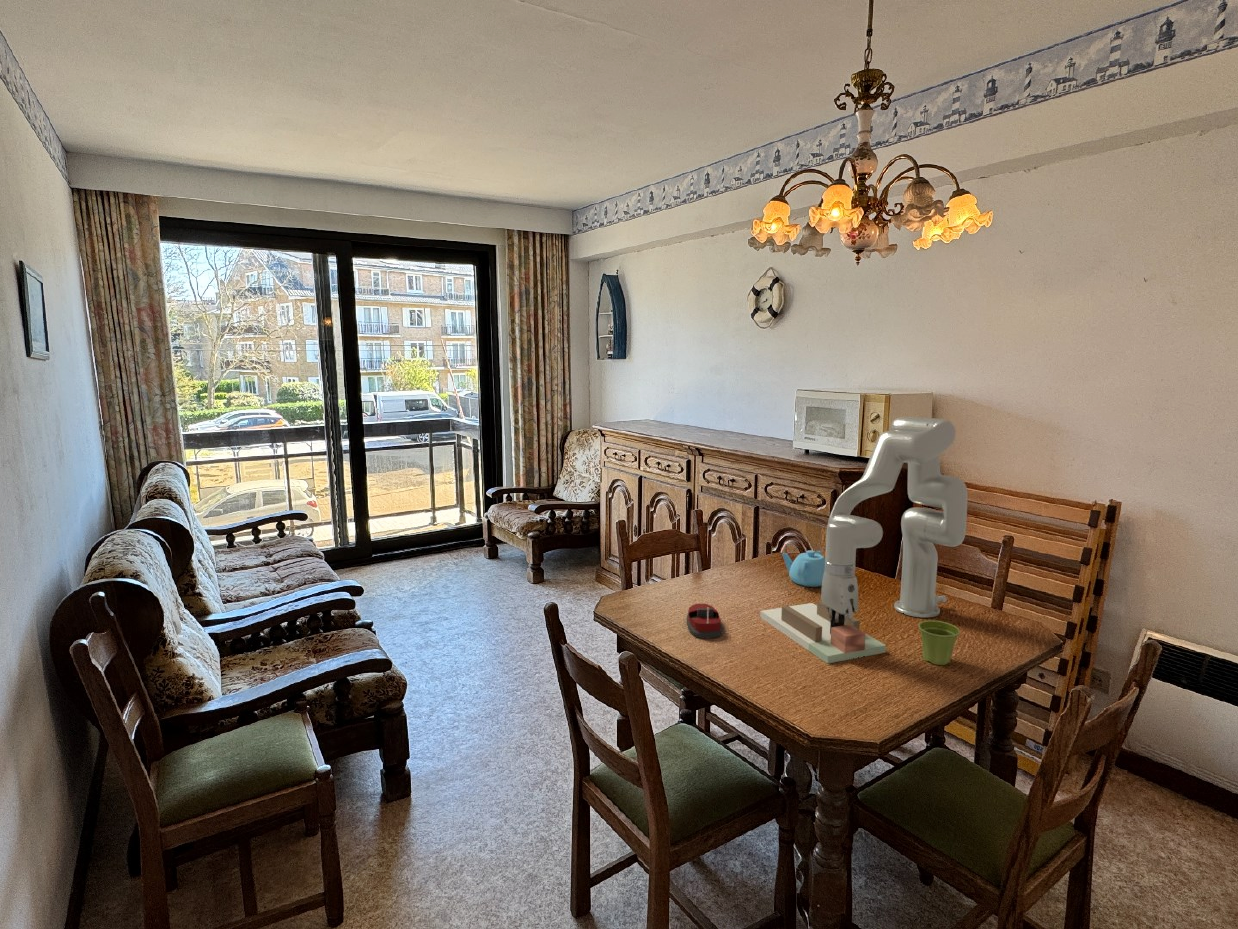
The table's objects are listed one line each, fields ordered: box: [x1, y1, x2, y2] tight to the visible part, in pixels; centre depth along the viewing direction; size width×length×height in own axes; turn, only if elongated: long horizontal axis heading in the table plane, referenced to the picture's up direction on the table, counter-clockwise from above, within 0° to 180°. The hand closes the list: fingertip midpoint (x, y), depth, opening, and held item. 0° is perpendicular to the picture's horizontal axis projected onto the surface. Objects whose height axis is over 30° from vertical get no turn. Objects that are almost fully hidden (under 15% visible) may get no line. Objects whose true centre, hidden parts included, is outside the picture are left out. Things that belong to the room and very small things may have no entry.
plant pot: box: [917, 620, 961, 666], centre depth 167 cm, size 9×9×9 cm
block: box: [830, 625, 867, 653], centre depth 170 cm, size 6×6×4 cm
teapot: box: [781, 550, 825, 588], centre depth 226 cm, size 15×15×11 cm
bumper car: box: [686, 603, 723, 639], centre depth 188 cm, size 10×20×10 cm, turn 1°
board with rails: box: [759, 600, 887, 664], centre depth 183 cm, size 18×32×6 cm, turn 19°
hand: (836, 634), depth 176 cm, fingers closed
